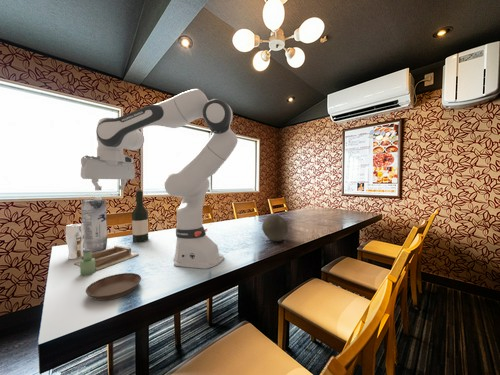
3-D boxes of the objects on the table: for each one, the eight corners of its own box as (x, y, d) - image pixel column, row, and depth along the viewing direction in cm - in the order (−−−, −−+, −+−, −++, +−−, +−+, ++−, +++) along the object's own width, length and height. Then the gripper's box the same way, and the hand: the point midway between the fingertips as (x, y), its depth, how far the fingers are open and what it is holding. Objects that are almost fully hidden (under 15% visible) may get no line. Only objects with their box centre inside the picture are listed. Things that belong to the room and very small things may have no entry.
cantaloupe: (272, 236, 125) (272, 212, 125) (292, 241, 116) (292, 215, 115) (257, 241, 115) (257, 215, 115) (277, 247, 106) (277, 218, 105)
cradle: (138, 255, 95) (138, 247, 95) (96, 270, 79) (96, 261, 79) (117, 250, 102) (116, 243, 102) (74, 264, 85) (74, 255, 85)
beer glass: (89, 255, 96) (88, 224, 95) (72, 260, 89) (71, 227, 89) (80, 253, 98) (78, 223, 98) (62, 258, 92) (61, 226, 91)
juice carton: (87, 253, 98) (85, 198, 97) (81, 249, 104) (79, 197, 103) (109, 248, 105) (107, 197, 104) (101, 245, 111) (100, 196, 110)
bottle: (98, 271, 78) (97, 249, 78) (84, 276, 74) (83, 253, 74) (91, 269, 80) (90, 247, 80) (77, 274, 76) (76, 251, 76)
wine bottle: (151, 238, 123) (150, 189, 122) (142, 242, 115) (141, 190, 114) (138, 238, 124) (137, 189, 123) (129, 242, 116) (127, 190, 115)
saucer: (134, 275, 75) (134, 268, 75) (147, 291, 64) (146, 283, 64) (83, 290, 65) (83, 282, 65) (88, 312, 54) (87, 302, 54)
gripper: (85, 154, 75) (86, 191, 76) (136, 159, 94) (137, 189, 94) (76, 155, 78) (77, 190, 78) (128, 160, 96) (128, 188, 97)
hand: (110, 189), depth 86 cm, fingers open, 8 cm apart
